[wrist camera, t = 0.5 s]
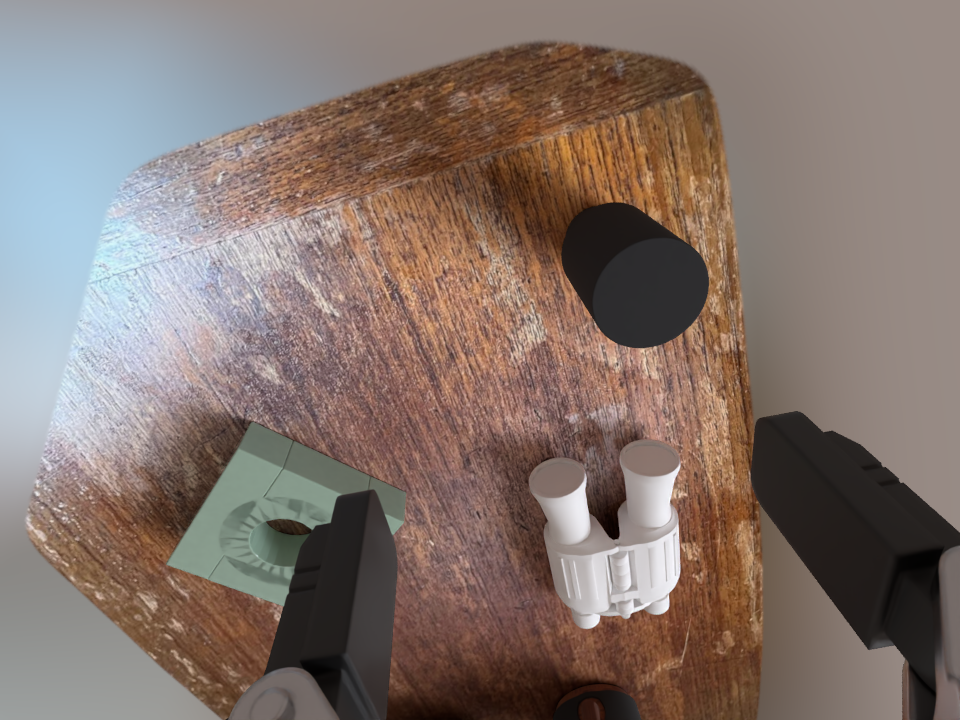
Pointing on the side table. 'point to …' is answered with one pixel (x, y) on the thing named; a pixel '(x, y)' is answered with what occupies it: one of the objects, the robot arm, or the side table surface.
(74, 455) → the side table surface
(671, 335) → the stopper
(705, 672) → the side table surface
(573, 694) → the mug
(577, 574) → the binoculars
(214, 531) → the green block with hole
